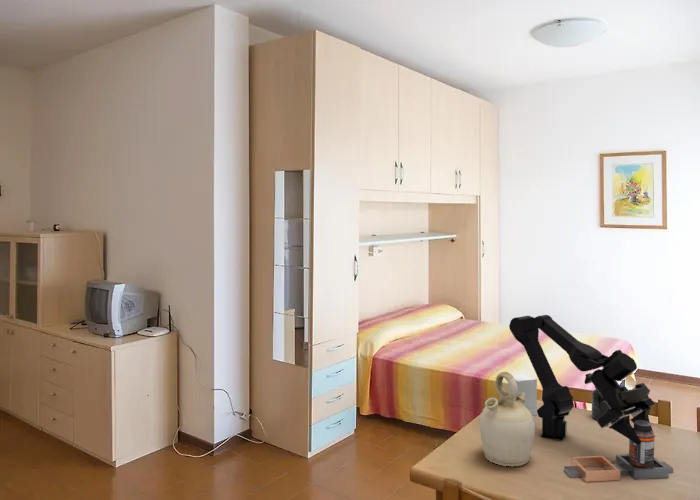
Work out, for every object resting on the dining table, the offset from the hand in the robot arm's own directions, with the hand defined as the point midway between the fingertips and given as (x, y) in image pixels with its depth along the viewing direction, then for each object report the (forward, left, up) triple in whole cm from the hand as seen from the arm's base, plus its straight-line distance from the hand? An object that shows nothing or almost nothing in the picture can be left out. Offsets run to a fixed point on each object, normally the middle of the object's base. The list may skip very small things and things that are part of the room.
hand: (646, 441), depth 151 cm
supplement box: (-39, +31, -9) cm, 50 cm away
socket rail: (-7, -3, -9) cm, 11 cm away
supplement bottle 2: (-1, +1, -7) cm, 7 cm away
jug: (-35, -7, -9) cm, 37 cm away
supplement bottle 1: (-14, +37, -9) cm, 40 cm away
